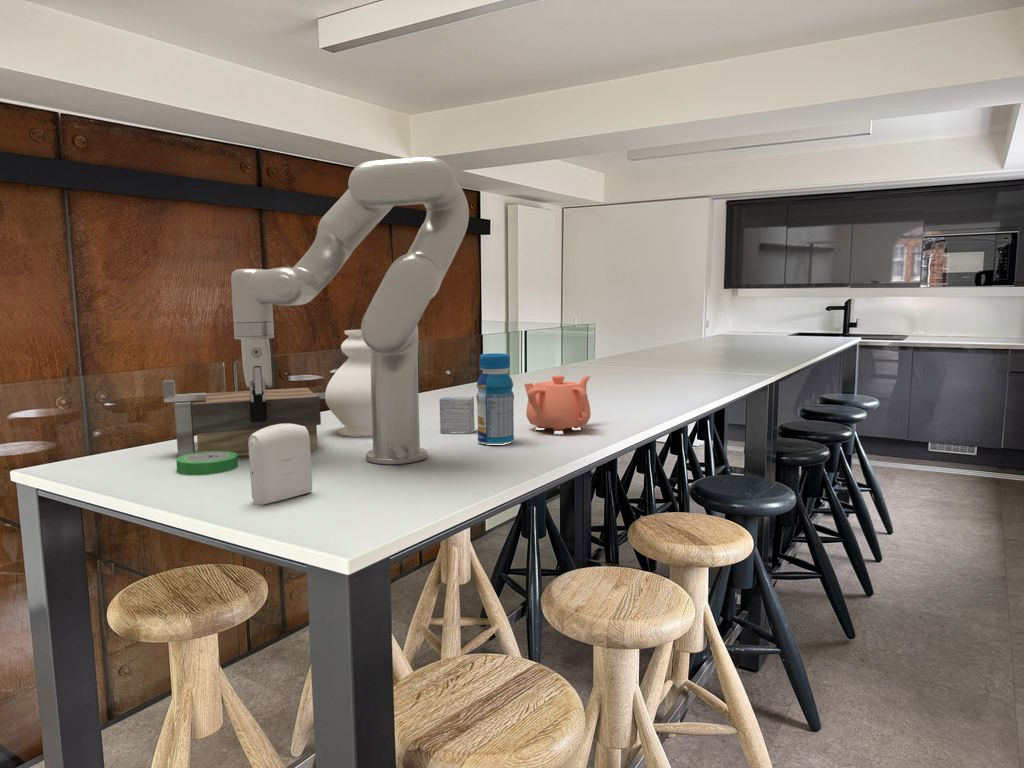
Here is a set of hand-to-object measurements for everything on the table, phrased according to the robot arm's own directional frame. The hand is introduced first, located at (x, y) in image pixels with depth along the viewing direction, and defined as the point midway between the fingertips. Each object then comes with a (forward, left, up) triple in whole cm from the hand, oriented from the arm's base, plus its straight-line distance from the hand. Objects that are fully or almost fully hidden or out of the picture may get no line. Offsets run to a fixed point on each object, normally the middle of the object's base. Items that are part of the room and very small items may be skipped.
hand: (258, 421), depth 146 cm
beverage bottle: (-4, -50, -8) cm, 51 cm away
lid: (+14, 0, -2) cm, 14 cm away
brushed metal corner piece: (+12, +14, +4) cm, 19 cm away
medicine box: (+12, -46, -8) cm, 48 cm away
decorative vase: (+22, -25, -8) cm, 34 cm away
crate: (+16, +2, -8) cm, 18 cm away
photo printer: (-31, -2, -8) cm, 32 cm away
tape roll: (-3, +10, -9) cm, 14 cm away
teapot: (+5, -70, -8) cm, 71 cm away
